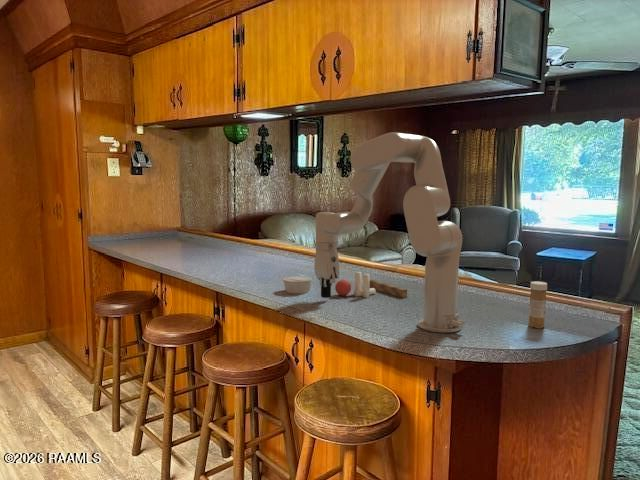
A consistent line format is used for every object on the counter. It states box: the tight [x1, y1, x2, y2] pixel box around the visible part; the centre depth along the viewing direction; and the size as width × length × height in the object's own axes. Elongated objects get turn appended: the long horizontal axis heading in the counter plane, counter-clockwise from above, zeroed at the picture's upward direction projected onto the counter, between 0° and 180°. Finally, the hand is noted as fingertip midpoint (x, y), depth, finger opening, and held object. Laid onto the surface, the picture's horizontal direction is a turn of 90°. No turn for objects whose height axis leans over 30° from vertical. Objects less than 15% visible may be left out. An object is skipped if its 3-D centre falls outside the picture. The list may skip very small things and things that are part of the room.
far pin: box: [354, 271, 362, 291], centre depth 185 cm, size 2×2×8 cm
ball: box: [334, 279, 352, 297], centre depth 183 cm, size 6×6×6 cm
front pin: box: [353, 288, 377, 298], centre depth 184 cm, size 2×2×8 cm
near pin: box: [362, 273, 371, 298], centre depth 181 cm, size 2×2×8 cm
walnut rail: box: [369, 278, 408, 299], centre depth 190 cm, size 22×2×3 cm, turn 32°
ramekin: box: [283, 275, 313, 295], centre depth 190 cm, size 11×11×5 cm
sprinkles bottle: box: [528, 280, 548, 329], centre depth 144 cm, size 5×5×13 cm
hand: (325, 296), depth 175 cm, fingers closed
